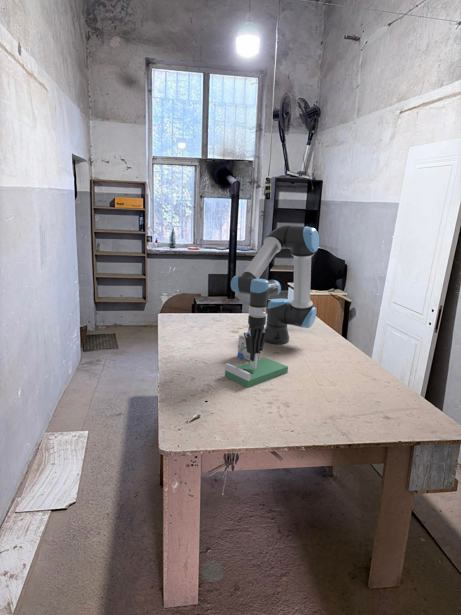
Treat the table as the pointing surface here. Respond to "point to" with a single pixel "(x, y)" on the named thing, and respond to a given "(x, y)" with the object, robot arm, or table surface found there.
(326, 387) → the table surface
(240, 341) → the ink box
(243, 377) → the putting deck
